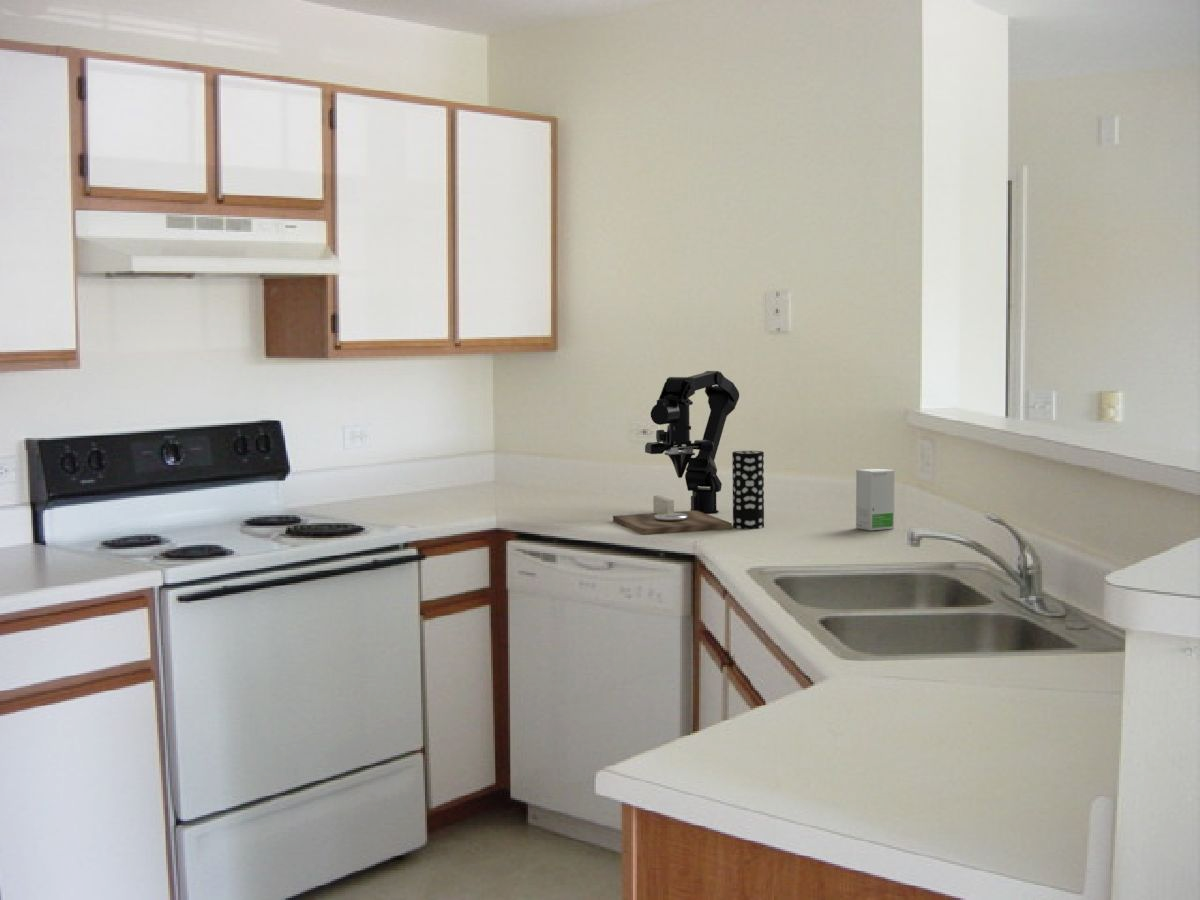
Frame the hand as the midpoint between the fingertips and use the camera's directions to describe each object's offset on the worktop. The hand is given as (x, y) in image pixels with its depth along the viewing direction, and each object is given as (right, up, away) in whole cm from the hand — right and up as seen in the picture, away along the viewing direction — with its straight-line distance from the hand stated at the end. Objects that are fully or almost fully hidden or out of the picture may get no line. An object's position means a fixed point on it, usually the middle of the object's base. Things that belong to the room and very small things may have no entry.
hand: (679, 477), depth 367 cm
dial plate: (-3, -13, -10) cm, 17 cm away
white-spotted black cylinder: (+17, -13, -16) cm, 27 cm away
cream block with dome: (-4, -11, -7) cm, 13 cm away
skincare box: (+50, -13, -22) cm, 56 cm away
